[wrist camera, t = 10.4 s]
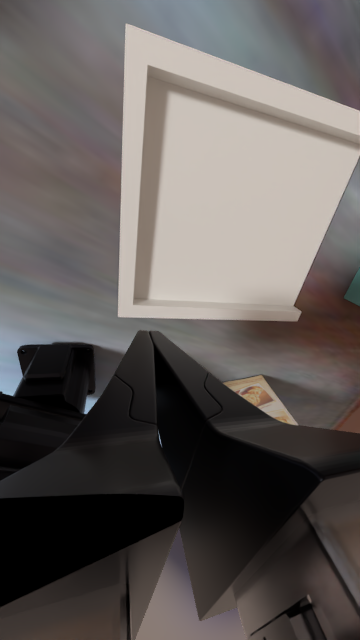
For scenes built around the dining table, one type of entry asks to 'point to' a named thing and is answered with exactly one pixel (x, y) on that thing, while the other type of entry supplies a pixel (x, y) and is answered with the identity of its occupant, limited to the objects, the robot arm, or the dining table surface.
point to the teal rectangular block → (354, 290)
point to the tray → (222, 184)
